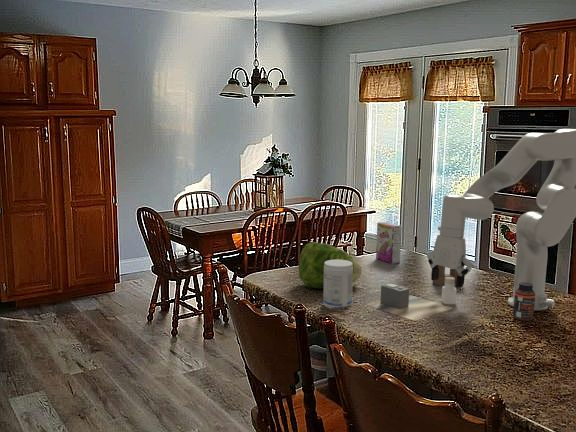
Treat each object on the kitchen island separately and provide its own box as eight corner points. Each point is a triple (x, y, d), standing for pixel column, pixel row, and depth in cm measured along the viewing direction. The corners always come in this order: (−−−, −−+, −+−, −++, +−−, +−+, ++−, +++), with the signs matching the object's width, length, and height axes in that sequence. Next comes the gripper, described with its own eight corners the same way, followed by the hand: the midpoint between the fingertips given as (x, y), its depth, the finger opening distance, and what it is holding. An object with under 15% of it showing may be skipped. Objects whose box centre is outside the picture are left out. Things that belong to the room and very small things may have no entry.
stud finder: (408, 306, 188) (409, 287, 187) (399, 309, 185) (400, 290, 184) (389, 300, 194) (390, 282, 193) (380, 303, 191) (381, 284, 190)
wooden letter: (462, 284, 220) (465, 237, 217) (437, 286, 217) (439, 239, 214) (456, 281, 223) (459, 235, 220) (432, 283, 220) (434, 237, 217)
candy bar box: (375, 258, 259) (376, 222, 256) (383, 257, 261) (385, 221, 258) (391, 264, 249) (393, 226, 246) (400, 263, 252) (402, 225, 249)
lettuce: (355, 301, 217) (373, 277, 205) (295, 294, 210) (311, 269, 199) (348, 265, 228) (366, 240, 216) (292, 257, 221) (306, 231, 209)
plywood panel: (453, 311, 188) (454, 308, 187) (414, 324, 175) (414, 320, 175) (404, 296, 203) (405, 293, 203) (365, 307, 190) (365, 304, 190)
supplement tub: (341, 300, 198) (342, 257, 196) (357, 307, 190) (359, 264, 188) (317, 304, 193) (318, 260, 191) (333, 312, 185) (334, 267, 183)
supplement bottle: (520, 322, 179) (523, 286, 177) (508, 316, 184) (511, 281, 182) (537, 320, 180) (540, 285, 178) (524, 314, 186) (527, 280, 184)
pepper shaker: (452, 303, 196) (454, 276, 194) (456, 307, 192) (457, 279, 190) (440, 303, 196) (442, 276, 194) (444, 307, 192) (445, 279, 190)
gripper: (423, 228, 194) (418, 278, 197) (468, 238, 181) (462, 291, 184) (436, 227, 199) (432, 275, 202) (481, 236, 186) (476, 288, 188)
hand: (446, 283), depth 193 cm, fingers open, 9 cm apart
